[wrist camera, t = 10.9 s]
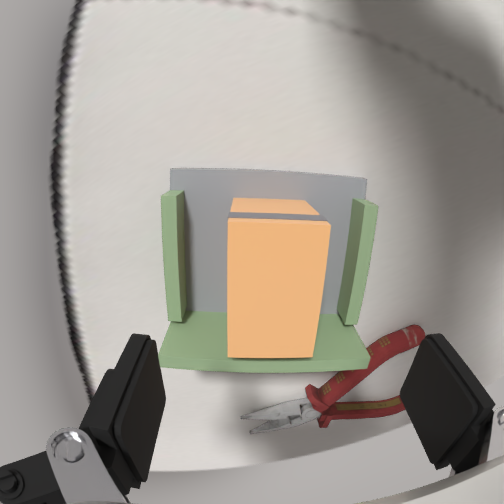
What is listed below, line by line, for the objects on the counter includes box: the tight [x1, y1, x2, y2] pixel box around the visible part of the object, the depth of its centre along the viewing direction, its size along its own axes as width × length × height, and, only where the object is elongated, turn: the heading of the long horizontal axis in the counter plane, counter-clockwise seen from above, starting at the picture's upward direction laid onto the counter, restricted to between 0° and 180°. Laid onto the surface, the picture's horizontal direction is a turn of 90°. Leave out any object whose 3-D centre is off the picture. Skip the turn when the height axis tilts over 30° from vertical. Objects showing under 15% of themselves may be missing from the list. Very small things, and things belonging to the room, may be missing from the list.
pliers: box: [241, 325, 425, 434], centre depth 28 cm, size 12×20×3 cm, turn 110°
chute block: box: [227, 198, 331, 358], centre depth 19 cm, size 8×5×7 cm, turn 178°
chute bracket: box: [158, 168, 378, 373], centre depth 20 cm, size 12×14×7 cm
